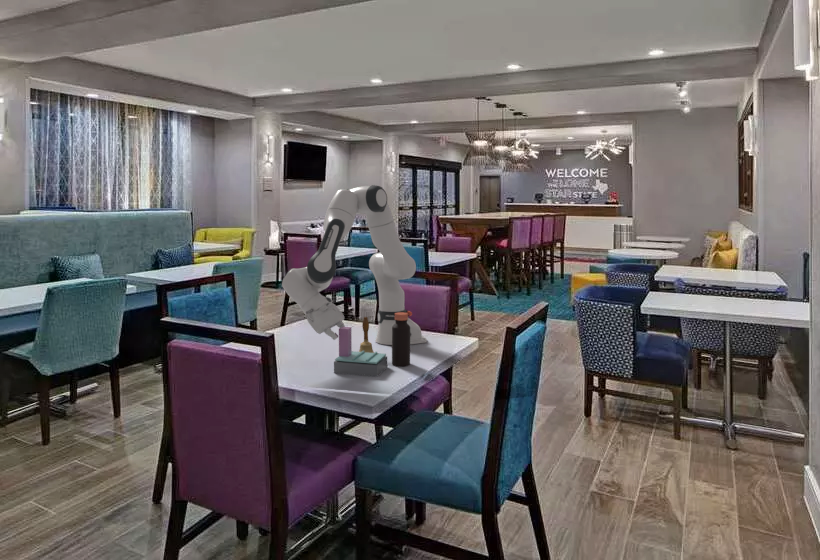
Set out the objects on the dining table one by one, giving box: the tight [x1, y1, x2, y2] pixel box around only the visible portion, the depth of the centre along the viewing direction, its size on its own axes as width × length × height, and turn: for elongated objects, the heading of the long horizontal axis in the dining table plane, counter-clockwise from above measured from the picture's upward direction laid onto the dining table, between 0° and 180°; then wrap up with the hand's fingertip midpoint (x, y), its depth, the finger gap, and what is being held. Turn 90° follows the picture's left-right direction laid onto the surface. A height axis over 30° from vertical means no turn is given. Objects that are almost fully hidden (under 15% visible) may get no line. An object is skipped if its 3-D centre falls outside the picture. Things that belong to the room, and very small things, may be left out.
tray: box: [333, 355, 388, 378], centre depth 207 cm, size 16×12×5 cm
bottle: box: [391, 312, 411, 368], centre depth 214 cm, size 7×7×20 cm
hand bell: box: [358, 316, 375, 353], centre depth 227 cm, size 8×8×16 cm
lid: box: [334, 326, 387, 364], centre depth 206 cm, size 15×12×11 cm
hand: (341, 335), depth 207 cm, fingers open, 8 cm apart
